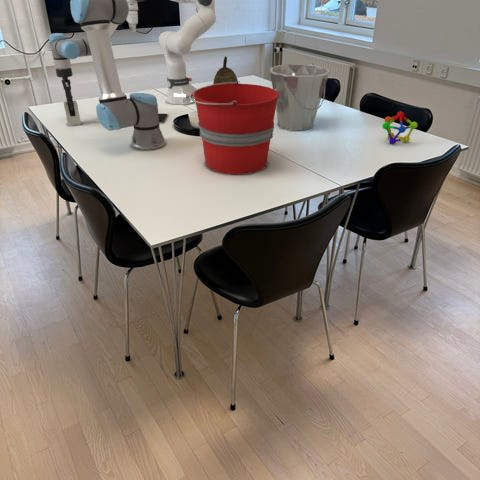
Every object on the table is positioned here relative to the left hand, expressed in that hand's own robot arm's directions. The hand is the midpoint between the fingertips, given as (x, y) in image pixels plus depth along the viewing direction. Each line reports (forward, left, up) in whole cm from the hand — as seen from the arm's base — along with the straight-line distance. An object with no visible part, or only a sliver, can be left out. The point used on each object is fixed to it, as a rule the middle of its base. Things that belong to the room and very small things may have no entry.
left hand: (72, 113), depth 230 cm
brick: (0, 0, -5) cm, 5 cm away
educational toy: (+8, +164, -5) cm, 164 cm away
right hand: (-77, +11, +31) cm, 84 cm away
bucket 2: (-13, +116, -5) cm, 117 cm away
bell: (-65, +72, -5) cm, 97 cm away
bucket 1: (+42, +91, -5) cm, 100 cm away
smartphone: (-15, +42, -5) cm, 45 cm away
